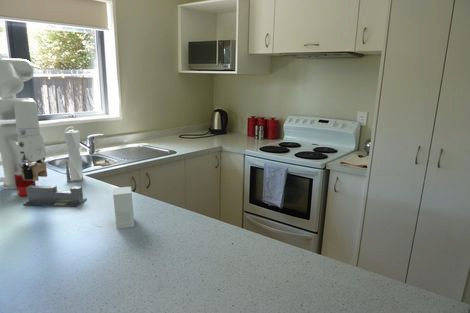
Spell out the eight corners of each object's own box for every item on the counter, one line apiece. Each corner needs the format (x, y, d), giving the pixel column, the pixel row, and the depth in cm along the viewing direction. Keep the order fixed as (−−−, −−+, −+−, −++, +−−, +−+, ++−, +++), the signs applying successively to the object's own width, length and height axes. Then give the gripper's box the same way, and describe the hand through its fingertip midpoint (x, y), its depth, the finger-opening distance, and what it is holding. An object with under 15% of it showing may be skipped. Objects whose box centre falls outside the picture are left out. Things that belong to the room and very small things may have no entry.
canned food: (31, 197, 157) (27, 174, 155) (13, 197, 157) (9, 174, 155) (40, 191, 165) (37, 169, 162) (24, 191, 165) (20, 169, 162)
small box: (116, 220, 131) (113, 187, 128) (134, 218, 133) (131, 186, 130) (116, 229, 123) (112, 194, 121) (134, 226, 125) (131, 192, 122)
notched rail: (23, 205, 147) (21, 189, 146) (37, 198, 156) (35, 183, 154) (76, 207, 145) (74, 191, 143) (87, 199, 154) (85, 184, 152)
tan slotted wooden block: (22, 180, 136) (20, 166, 134) (33, 175, 142) (31, 162, 140) (37, 180, 135) (35, 167, 134) (47, 176, 141) (45, 163, 140)
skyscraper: (69, 178, 186) (63, 126, 180) (85, 176, 189) (79, 125, 182) (66, 182, 179) (60, 128, 172) (83, 181, 181) (77, 128, 175)
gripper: (22, 136, 125) (29, 183, 129) (51, 128, 142) (56, 170, 146) (3, 135, 126) (10, 182, 130) (34, 128, 143) (40, 170, 147)
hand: (35, 175), depth 138 cm, fingers closed on tan slotted wooden block, 6 cm apart
